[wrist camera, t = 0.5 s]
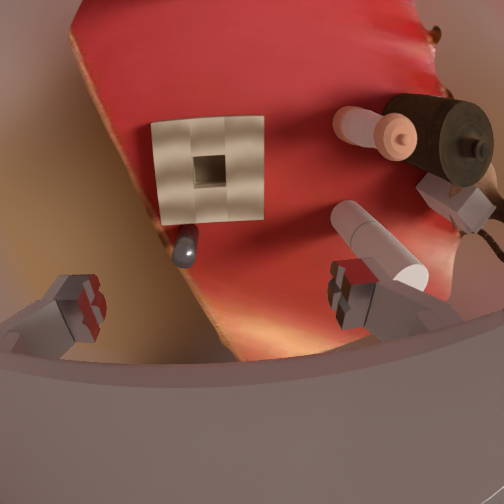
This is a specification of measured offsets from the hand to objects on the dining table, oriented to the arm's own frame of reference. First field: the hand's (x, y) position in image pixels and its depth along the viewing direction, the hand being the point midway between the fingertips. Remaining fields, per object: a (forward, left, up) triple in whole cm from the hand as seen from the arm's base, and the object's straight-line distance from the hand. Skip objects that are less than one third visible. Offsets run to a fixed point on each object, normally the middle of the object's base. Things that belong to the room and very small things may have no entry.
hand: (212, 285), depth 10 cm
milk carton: (+9, +47, -45) cm, 65 cm away
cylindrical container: (+17, +25, -45) cm, 54 cm away
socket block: (+6, -2, -45) cm, 45 cm away
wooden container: (-3, +38, -45) cm, 59 cm away
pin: (+19, -7, -45) cm, 49 cm away
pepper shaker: (-2, +24, -45) cm, 51 cm away
